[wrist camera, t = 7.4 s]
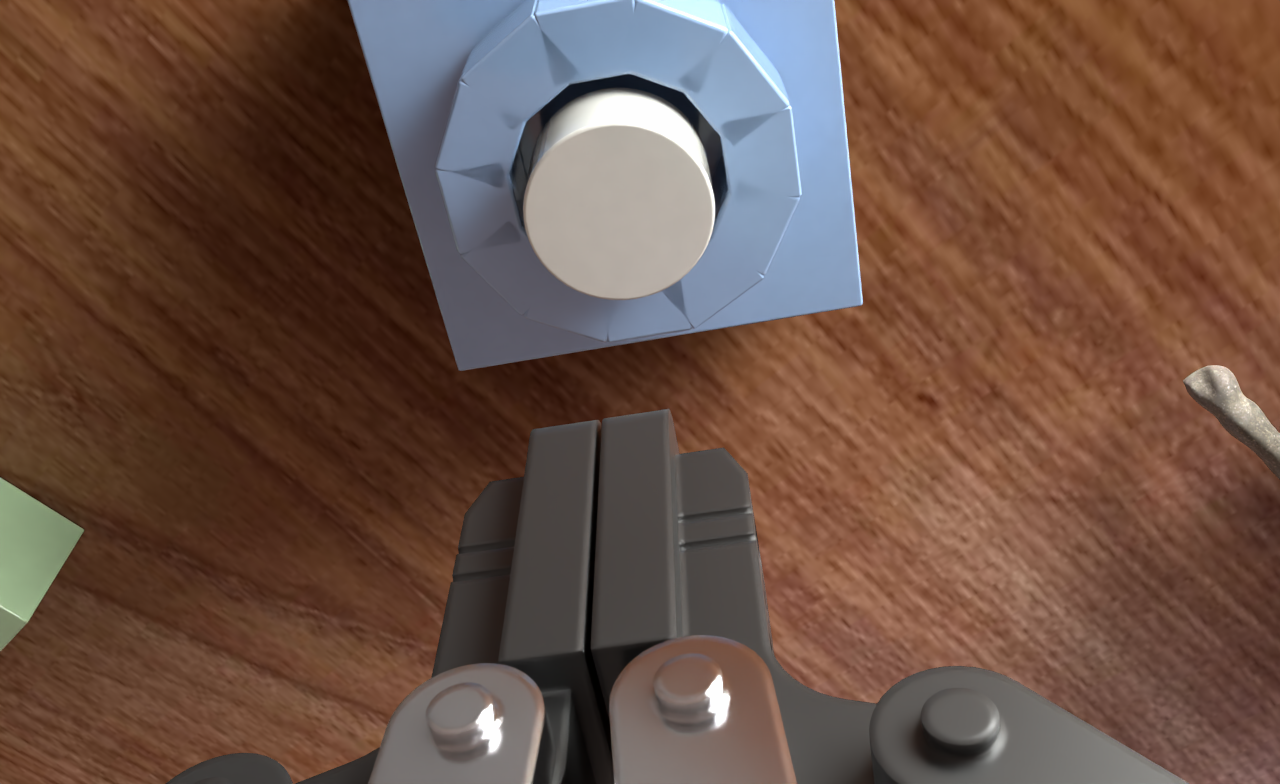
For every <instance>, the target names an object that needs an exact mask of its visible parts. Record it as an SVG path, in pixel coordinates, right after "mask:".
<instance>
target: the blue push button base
mask: <svg viewBox="0 0 1280 784" xmlns="http://www.w3.org/2000/svg"><path fill="white" fill-rule="evenodd" d="M347 1H348V4H349V8H350V11H351V14H352V18H353V21H354V24H355V28H356V31H357V34H358V38H359V41H360V44H361V48H362V51H363V54H364V58H365V61H366V64H367V68H368V71H369V74H370V78H371V81H372V84H373V88H374V91H375V94H376V98H377V101H378V104H379V108H380V111H381V114H382V118H383V121H384V124H385V128H386V131H387V134H388V138H389V141H390V144H391V148H392V151H393V154H394V158H395V161H396V164H397V168H398V171H399V174H400V178H401V181H402V184H403V188H404V191H405V194H406V198H407V201H408V204H409V208H410V211H411V214H412V218H413V221H414V224H415V228H416V231H417V234H418V238H419V241H420V244H421V248H422V251H423V254H424V258H425V261H426V264H427V268H428V271H429V274H430V278H431V281H432V284H433V288H434V291H435V294H436V298H437V301H438V304H439V308H440V311H441V314H442V318H443V321H444V324H445V328H446V331H447V334H448V338H449V341H450V344H451V348H452V351H453V354H454V358H455V361H456V364H457V368H458V370H459V371H464V370H470V369H476V368H482V367H488V366H495V365H501V364H507V363H513V362H519V361H525V360H531V359H537V358H544V357H550V356H556V355H562V354H568V353H574V352H580V351H587V350H593V349H599V348H605V347H611V346H617V345H623V344H629V343H636V342H642V341H648V340H654V339H660V338H666V337H672V336H678V335H685V334H691V333H697V332H703V331H709V330H715V329H721V328H727V327H734V326H740V325H746V324H752V323H758V322H764V321H770V320H777V319H783V318H789V317H795V316H801V315H807V314H813V313H819V312H826V311H832V310H838V309H844V308H850V307H856V306H861V305H862V304H863V298H862V287H861V277H860V266H859V256H858V245H857V234H856V224H855V213H854V203H853V192H852V181H851V171H850V160H849V150H848V139H847V129H846V118H845V107H844V97H843V86H842V76H841V65H840V54H839V44H838V33H837V23H836V12H835V1H834V0H347ZM607 88H631V89H638V90H642V91H646V92H649V93H652V94H654V95H657V96H659V97H661V98H663V99H665V100H666V101H668V102H670V103H671V104H673V105H674V106H675V107H677V108H678V109H679V110H680V111H682V112H683V114H684V115H685V116H686V117H687V118H688V119H689V120H690V121H691V122H692V124H693V125H694V127H695V128H696V129H697V131H698V133H699V135H700V137H701V139H702V141H703V144H704V146H705V149H706V153H707V157H708V162H709V168H710V174H711V181H712V187H713V193H714V200H715V222H714V227H713V232H712V235H711V238H710V241H709V244H708V246H707V248H706V250H705V252H704V254H703V255H702V257H701V258H700V260H699V261H698V262H697V264H696V265H695V266H694V267H693V268H692V269H691V271H690V272H689V273H687V274H686V275H685V276H684V277H683V278H682V279H681V280H679V281H678V282H676V283H675V284H673V285H672V286H670V287H668V288H666V289H664V290H662V291H660V292H658V293H655V294H652V295H650V296H646V297H642V298H638V299H630V300H609V299H601V298H597V297H593V296H589V295H586V294H584V293H581V292H578V291H576V290H574V289H572V288H571V287H569V286H567V285H565V284H564V283H563V282H561V281H560V280H558V279H557V278H556V277H555V276H554V275H552V274H551V273H550V272H549V271H548V270H547V269H546V268H545V266H544V265H543V264H542V263H541V262H540V260H539V259H538V257H537V256H536V254H535V253H534V251H533V249H532V247H531V245H530V243H529V240H528V237H527V234H526V231H525V226H524V220H523V200H524V193H525V187H526V182H527V177H528V171H529V166H530V160H531V156H532V152H533V148H534V145H535V143H536V140H537V138H538V136H539V134H540V132H541V130H542V129H543V127H544V126H545V124H546V123H547V122H548V120H549V119H550V118H551V117H552V116H553V115H554V114H555V113H556V112H557V111H558V110H559V109H560V108H562V107H563V106H564V105H566V104H567V103H568V102H570V101H572V100H574V99H575V98H577V97H579V96H581V95H584V94H586V93H589V92H592V91H596V90H600V89H607Z"/></svg>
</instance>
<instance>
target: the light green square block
mask: <svg viewBox="0 0 1280 784" xmlns="http://www.w3.org/2000/svg"><path fill="white" fill-rule="evenodd" d="M83 532H84V529H83V528H81V527H79V526H78V525H76V524H75V523H73V522H71V521H70V520H68V519H67V518H65V517H63V516H62V515H60V514H59V513H57V512H55V511H54V510H52V509H50V508H49V507H47V506H46V505H44V504H42V503H41V502H39V501H38V500H36V499H34V498H33V497H31V496H30V495H28V494H26V493H25V492H23V491H21V490H20V489H18V488H17V487H15V486H13V485H12V484H10V483H9V482H7V481H5V480H4V479H2V478H1V477H0V652H1V651H2V650H3V649H4V647H5V646H6V645H7V644H8V643H9V642H10V641H11V640H12V639H13V638H14V637H15V636H16V635H17V634H18V633H19V632H20V630H21V629H22V628H23V627H24V626H25V625H26V624H27V623H28V622H29V620H30V619H31V617H32V615H33V614H34V612H35V610H36V609H37V607H38V606H39V604H40V602H41V601H42V599H43V597H44V596H45V594H46V593H47V591H48V589H49V588H50V586H51V584H52V583H53V581H54V580H55V578H56V576H57V575H58V573H59V571H60V570H61V568H62V567H63V565H64V563H65V562H66V560H67V558H68V557H69V555H70V554H71V552H72V550H73V549H74V547H75V545H76V544H77V542H78V541H79V539H80V537H81V536H82V534H83Z"/></svg>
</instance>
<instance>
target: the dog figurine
mask: <svg viewBox="0 0 1280 784" xmlns="http://www.w3.org/2000/svg"><path fill="white" fill-rule="evenodd" d="M1183 382H1184V384H1185V386H1186V389H1187V391H1188V393H1189V394H1190V396H1191V397H1192V398H1193V399H1194V400H1195V401H1196V402H1198V403H1199V404H1200V405H1201V406H1202V407H1204V408H1205V409H1207V410H1208V411H1209V412H1211V413H1212V414H1213V415H1214V416H1215V417H1216V418H1217V419H1218V420H1219V422H1220V423H1221V425H1222V426H1223V427H1224V428H1225V429H1226V430H1227V431H1228V432H1229V433H1230V434H1231V435H1232V436H1233V437H1235V438H1236V439H1238V440H1239V441H1241V442H1242V443H1244V444H1245V445H1246V446H1248V447H1249V448H1250V449H1251V450H1252V451H1254V452H1255V453H1256V454H1257V455H1258V456H1259V457H1260V458H1261V459H1262V460H1263V461H1264V463H1265V464H1266V465H1267V467H1268V468H1269V469H1270V470H1271V471H1272V472H1273V473H1274V474H1275V475H1276V476H1277V477H1278V478H1279V479H1280V433H1279V432H1278V431H1277V430H1276V429H1275V428H1274V427H1273V426H1272V424H1271V423H1270V422H1269V420H1268V419H1267V418H1266V416H1265V415H1264V413H1263V412H1262V410H1261V409H1260V408H1259V407H1258V406H1257V405H1256V404H1255V403H1254V402H1253V401H1251V400H1250V399H1248V398H1246V397H1245V396H1244V395H1243V393H1242V392H1241V390H1240V387H1239V384H1238V382H1237V380H1236V378H1235V376H1234V374H1233V373H1232V372H1231V371H1230V370H1229V369H1227V368H1226V367H1223V366H1216V365H1214V366H1206V367H1203V368H1201V369H1199V370H1197V371H1195V372H1193V373H1192V374H1190V375H1189V376H1188V377H1187V378H1185V379H1184V380H1183Z"/></svg>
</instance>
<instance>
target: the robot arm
mask: <svg viewBox="0 0 1280 784" xmlns="http://www.w3.org/2000/svg"><path fill="white" fill-rule="evenodd" d="M458 550H459V554H457V555H456V560H455V565H454V570H453V575H452V576H453V582H451V585H450V590H449V595H448V599H447V604H446V609H445V614H444V619H443V624H442V629H441V634H440V639H439V644H438V649H437V653H436V658H435V663H434V668H433V673H432V678H431V679H429V680H427V681H426V682H424V683H423V684H421V685H420V686H418V687H417V688H416V689H415V690H413V691H412V692H411V693H410V694H409V695H408V696H407V697H406V698H405V699H404V700H403V701H402V702H401V703H400V705H399V706H398V707H397V709H396V710H395V712H394V713H393V715H392V716H391V718H390V721H389V723H388V725H387V728H386V731H385V734H384V737H383V740H382V743H381V746H380V747H379V748H378V749H376V750H374V751H372V752H371V753H369V754H367V755H365V756H363V757H361V758H359V759H357V760H354V761H352V762H350V763H347V764H345V765H342V766H339V767H337V768H334V769H332V770H329V771H327V772H324V773H321V774H319V775H316V776H314V777H311V778H309V779H306V780H304V781H301V782H298V783H296V784H1189V783H1188V782H1186V781H1184V780H1183V779H1181V778H1179V777H1177V776H1176V775H1174V774H1172V773H1171V772H1169V771H1167V770H1166V769H1164V768H1162V767H1161V766H1159V765H1157V764H1155V763H1154V762H1152V761H1150V760H1149V759H1147V758H1145V757H1144V756H1142V755H1140V754H1139V753H1137V752H1135V751H1134V750H1132V749H1130V748H1128V747H1127V746H1125V745H1123V744H1122V743H1120V742H1118V741H1117V740H1115V739H1113V738H1112V737H1110V736H1108V735H1106V734H1105V733H1103V732H1101V731H1100V730H1098V729H1096V728H1095V727H1093V726H1091V725H1090V724H1088V723H1086V722H1084V721H1083V720H1081V719H1079V718H1078V717H1076V716H1074V715H1073V714H1071V713H1069V712H1068V711H1066V710H1064V709H1062V708H1061V707H1059V706H1057V705H1056V704H1054V703H1052V702H1051V701H1049V700H1047V699H1046V698H1044V697H1042V696H1041V695H1039V694H1037V693H1035V692H1034V691H1032V690H1030V689H1029V688H1027V687H1025V686H1024V685H1022V684H1020V683H1019V682H1017V681H1015V680H1013V679H1011V678H1009V677H1007V676H1005V675H1002V674H999V673H996V672H993V671H990V670H985V669H981V668H976V667H965V666H949V667H939V668H933V669H928V670H925V671H922V672H919V673H916V674H913V675H911V676H909V677H907V678H905V679H903V680H901V681H900V682H898V683H897V684H895V685H894V686H892V687H891V688H890V689H889V690H888V691H887V692H886V693H885V694H884V695H883V696H882V698H881V699H880V700H879V702H878V703H877V704H875V703H867V702H860V701H853V700H846V699H841V698H836V697H831V696H828V695H825V694H822V693H819V692H816V691H814V690H812V689H810V688H808V687H806V686H804V685H802V684H801V683H799V682H798V681H797V680H795V679H794V678H792V677H791V676H790V675H789V674H788V673H787V672H786V671H785V670H784V669H783V668H782V667H781V665H780V664H779V663H778V661H777V660H776V658H775V656H774V651H773V643H772V635H771V628H770V621H769V613H768V605H767V598H766V590H765V583H764V577H763V570H762V564H761V558H760V551H759V545H758V539H757V532H756V526H755V520H754V513H753V507H752V501H751V494H750V488H749V482H748V475H747V473H746V472H745V471H744V469H743V468H742V467H741V466H740V465H739V464H738V463H737V462H736V461H735V460H734V458H733V457H732V456H731V455H730V454H729V453H728V452H727V451H726V450H725V448H719V449H712V450H705V451H698V452H691V453H684V454H679V449H678V444H677V438H676V433H675V428H674V423H673V419H672V415H671V412H670V409H665V410H659V411H652V412H645V413H638V414H632V415H625V416H618V417H611V418H605V419H603V421H602V425H601V423H600V421H599V420H593V421H586V422H579V423H573V424H566V425H559V426H552V427H546V428H539V429H533V430H532V431H531V433H530V439H529V446H528V453H527V460H526V467H525V474H524V477H520V478H513V479H506V480H499V481H492V482H489V484H488V485H487V486H486V487H485V489H484V490H483V491H482V493H481V494H480V495H479V497H478V498H477V499H476V500H475V502H474V503H473V504H472V506H471V507H470V508H469V509H468V511H467V512H466V513H465V516H464V521H463V526H462V531H461V536H460V541H459V546H458ZM166 784H293V782H292V780H291V778H290V776H289V774H288V773H287V771H286V770H285V768H284V767H283V766H282V765H281V764H279V763H278V762H277V761H275V760H273V759H271V758H269V757H267V756H263V755H259V754H253V753H237V754H229V755H224V756H219V757H216V758H213V759H210V760H207V761H204V762H201V763H199V764H197V765H195V766H193V767H191V768H189V769H187V770H185V771H184V772H182V773H180V774H179V775H177V776H175V777H174V778H173V779H171V780H170V781H169V782H167V783H166Z"/></svg>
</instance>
